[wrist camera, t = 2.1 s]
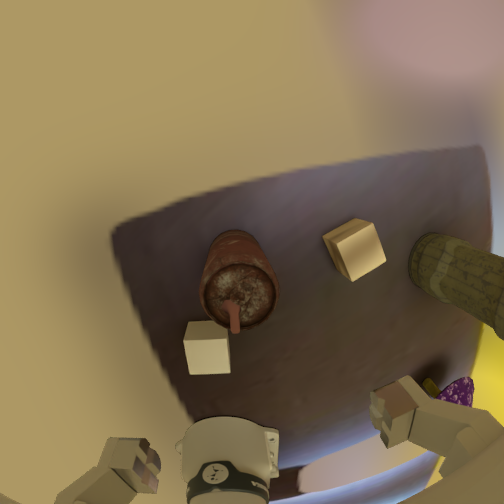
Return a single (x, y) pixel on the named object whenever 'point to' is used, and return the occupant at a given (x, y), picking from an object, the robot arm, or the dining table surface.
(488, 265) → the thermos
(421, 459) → the dining table surface
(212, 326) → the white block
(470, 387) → the decorative mushroom
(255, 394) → the dining table surface
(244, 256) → the can
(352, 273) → the maple block
